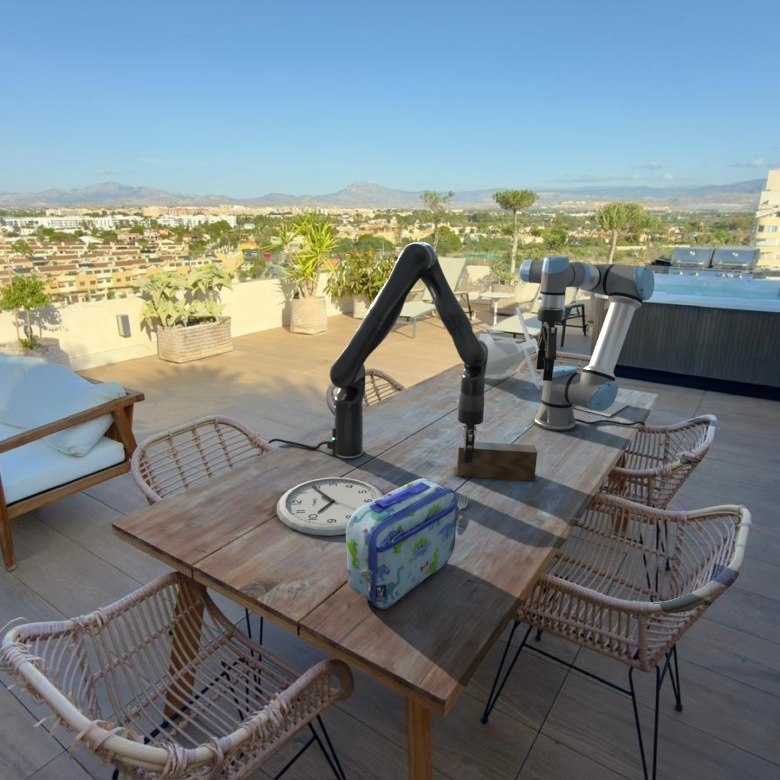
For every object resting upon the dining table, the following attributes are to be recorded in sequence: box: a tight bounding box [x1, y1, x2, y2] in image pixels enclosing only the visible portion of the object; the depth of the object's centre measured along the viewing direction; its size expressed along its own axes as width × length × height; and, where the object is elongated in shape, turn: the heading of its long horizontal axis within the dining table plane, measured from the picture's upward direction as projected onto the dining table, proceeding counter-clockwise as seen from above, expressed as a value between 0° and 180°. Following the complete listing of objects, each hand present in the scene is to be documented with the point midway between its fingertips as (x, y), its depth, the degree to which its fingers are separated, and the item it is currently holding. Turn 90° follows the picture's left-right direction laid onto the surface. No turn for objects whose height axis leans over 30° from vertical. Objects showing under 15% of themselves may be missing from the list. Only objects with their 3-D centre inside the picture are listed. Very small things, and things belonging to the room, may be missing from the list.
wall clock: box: [276, 476, 385, 537], centre depth 142 cm, size 30×2×30 cm
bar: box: [456, 440, 538, 482], centre depth 161 cm, size 23×6×10 cm, turn 83°
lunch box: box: [345, 477, 457, 610], centre depth 110 cm, size 26×11×21 cm, turn 134°
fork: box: [456, 494, 470, 521], centre depth 139 cm, size 3×16×2 cm, turn 160°
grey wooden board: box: [573, 401, 629, 418], centre depth 226 cm, size 21×1×15 cm
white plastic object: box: [478, 306, 544, 391], centre depth 259 cm, size 37×45×31 cm
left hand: (467, 457), depth 162 cm, fingers open, 5 cm apart
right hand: (543, 374), depth 167 cm, fingers open, 13 cm apart
